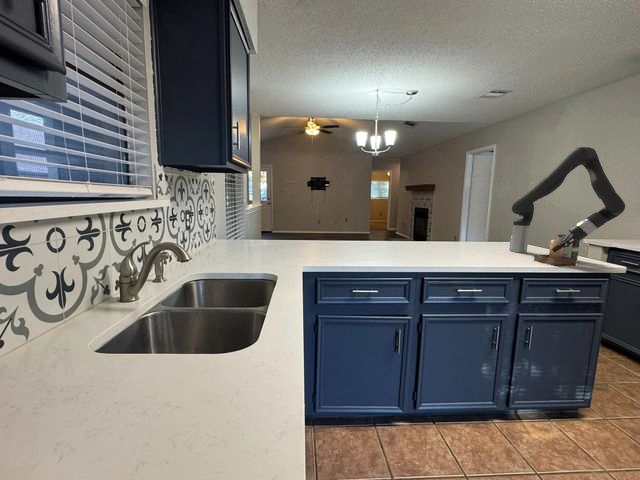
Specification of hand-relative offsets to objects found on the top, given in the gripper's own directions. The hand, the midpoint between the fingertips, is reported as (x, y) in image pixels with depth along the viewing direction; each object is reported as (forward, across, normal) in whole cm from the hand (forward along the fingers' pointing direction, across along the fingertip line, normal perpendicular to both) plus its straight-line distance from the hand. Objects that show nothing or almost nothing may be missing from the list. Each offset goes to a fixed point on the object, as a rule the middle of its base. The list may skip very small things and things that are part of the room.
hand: (552, 249), depth 172 cm
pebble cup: (+2, 0, +5) cm, 5 cm away
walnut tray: (+4, 0, +6) cm, 7 cm away
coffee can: (-2, -15, +12) cm, 19 cm away
